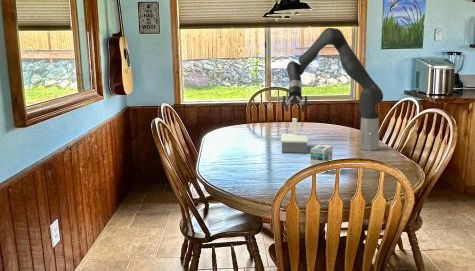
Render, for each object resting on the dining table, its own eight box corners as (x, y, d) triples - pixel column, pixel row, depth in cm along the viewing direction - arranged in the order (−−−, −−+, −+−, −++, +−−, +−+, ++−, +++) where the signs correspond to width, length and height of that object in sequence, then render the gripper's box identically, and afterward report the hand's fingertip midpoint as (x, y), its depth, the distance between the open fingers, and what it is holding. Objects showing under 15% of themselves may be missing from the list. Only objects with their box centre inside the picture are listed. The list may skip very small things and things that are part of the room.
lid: (307, 144, 225) (308, 124, 223) (280, 144, 227) (281, 123, 224) (306, 137, 243) (307, 118, 241) (281, 137, 245) (282, 118, 243)
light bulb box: (324, 174, 190) (324, 150, 188) (309, 171, 194) (310, 148, 191) (332, 168, 199) (333, 145, 197) (318, 166, 202) (319, 143, 200)
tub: (306, 153, 226) (306, 142, 225) (281, 153, 228) (281, 142, 227) (305, 146, 244) (306, 135, 243) (282, 145, 245) (282, 135, 244)
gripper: (282, 85, 254) (282, 107, 246) (307, 85, 253) (307, 107, 244) (283, 93, 261) (282, 115, 252) (307, 93, 259) (307, 115, 250)
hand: (294, 111), depth 248 cm, fingers open, 8 cm apart
